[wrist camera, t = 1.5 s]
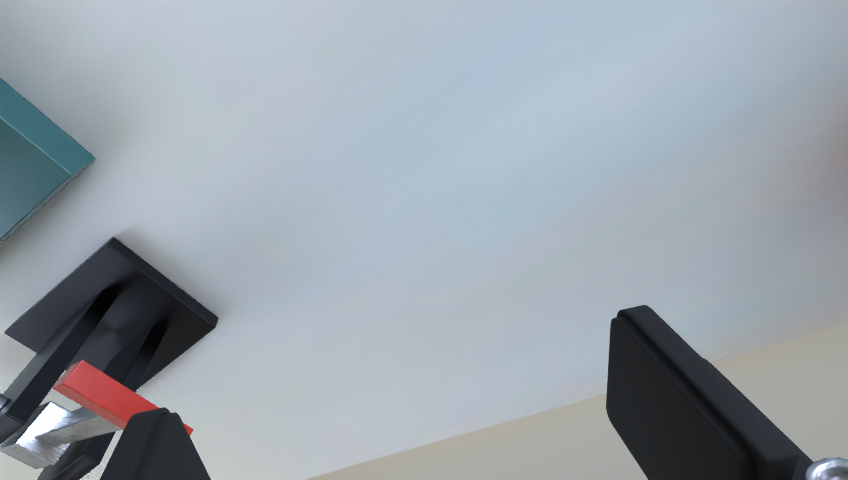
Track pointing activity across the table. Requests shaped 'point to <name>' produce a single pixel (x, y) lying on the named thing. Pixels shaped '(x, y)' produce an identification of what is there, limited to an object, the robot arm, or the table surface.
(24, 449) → the toaster lever
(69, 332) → the black upright frame
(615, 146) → the table surface
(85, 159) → the dial panel
